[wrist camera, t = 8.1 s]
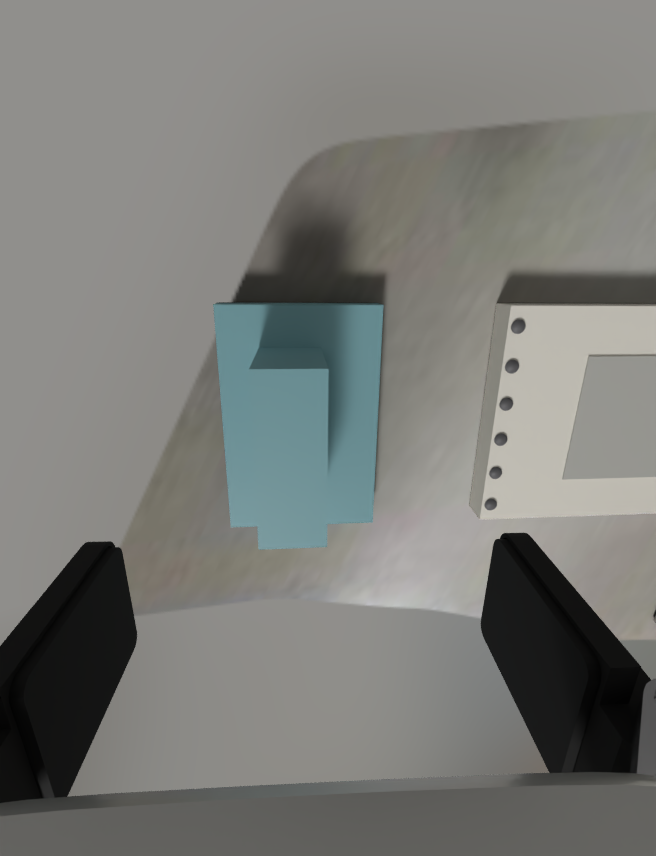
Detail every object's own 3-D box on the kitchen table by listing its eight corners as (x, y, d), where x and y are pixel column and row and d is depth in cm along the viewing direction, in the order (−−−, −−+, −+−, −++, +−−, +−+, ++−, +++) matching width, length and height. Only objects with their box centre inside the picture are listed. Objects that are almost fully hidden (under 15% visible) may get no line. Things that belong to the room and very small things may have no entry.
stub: (378, 303, 22) (409, 314, 16) (368, 509, 26) (391, 580, 20) (218, 302, 21) (188, 314, 15) (234, 513, 25) (216, 588, 19)
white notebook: (744, 304, 24) (777, 306, 22) (681, 498, 28) (705, 512, 26) (496, 303, 22) (512, 305, 21) (469, 505, 27) (480, 520, 25)
